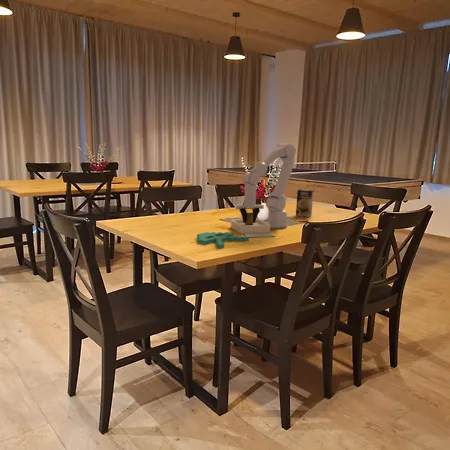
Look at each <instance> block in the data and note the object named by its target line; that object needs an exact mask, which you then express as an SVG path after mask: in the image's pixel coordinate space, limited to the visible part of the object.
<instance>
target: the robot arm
mask: <svg viewBox="0 0 450 450" xmlns="http://www.w3.org/2000/svg"><path fill="white" fill-rule="evenodd" d="M296 153H297V150H296V147H295V145H294V144H293V143H281V142H279V143H277V144H276V145H275V146H274V147H273V148H272V150H271V152H270V153H269V154H268V155H267V156H266V158H265V159H264V160H263V161H262V162H261V161H259V162H257V163H255V166H254V167H253V168H252V169H250V171H249V172H246V173H245V174H244V176H243V178H242V181H243V183H244V203H243V204H235V209H236V210H239V212H240V214H241V218H242V219H243V223H246V214H247V212H248V210H251V211H252V213H253V223H255V221H256V219H258V218H257V217H258V215H259V214H260V212H261V210H263V209H264V207H265V205H266V207H267V209H268V211H267V213H268V215H267V216H268V217H267V223H268V224H269V225H270V229H275V228H276V229H278V228H279V229H281V228H282V229H283V228H288V226H287V219H288V218H287V217H288V214H287V211H286V210H284V209H285V207H286V200H287V197H286V195H285V192H286V190H287V186H288V183H289V179H290V177H291V174H292V171H293V168H294V165H295V155H296ZM278 158H279V159H280V160H281V161H282V164H281V168H280V171H279V175H278V177H277V181H276V184H275V187H274V190H273V191H272V192H271V193H270V194H269V196H268V198H267V199H266V201H265V205H264V204H256V201H257V184H259V182H260V178H261V177H262V176H263V175H264V174H265V173H266V172H267V171H268V167H269V166H270V165H271V164H273V162H275V161H276V160H277V159H278Z"/></svg>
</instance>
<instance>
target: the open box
mask: <svg viewBox="0 0 450 450" xmlns="http://www.w3.org/2000/svg"><path fill="white" fill-rule="evenodd" d="M230 228H232V229H233V230H234V231H236V232H237V233H238V234H240V235H243V234H248V233H271V228H270V225H269V224H268V222H266V221H264V220H262V219H260V218H256V221H255V223H253V225H245V223H243V218H242V219H231V221H230Z"/></svg>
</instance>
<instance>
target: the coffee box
mask: <svg viewBox="0 0 450 450" xmlns="http://www.w3.org/2000/svg"><path fill="white" fill-rule="evenodd" d="M314 191H315V190H313V189H303V188H302V189H301V188H298V189H297V192H296V193H297V195H296V205H295V206H296V209H295V216H296V217H303V216H306V217H307V218H311V217H312V214H313V203H314V202H313V201H314ZM306 217H305V218H306Z"/></svg>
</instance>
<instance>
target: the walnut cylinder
mask: <svg viewBox="0 0 450 450" xmlns="http://www.w3.org/2000/svg"><path fill="white" fill-rule="evenodd" d="M245 225H253V212H250V211H249V212H248V211H247V214H246V223H245Z"/></svg>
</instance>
